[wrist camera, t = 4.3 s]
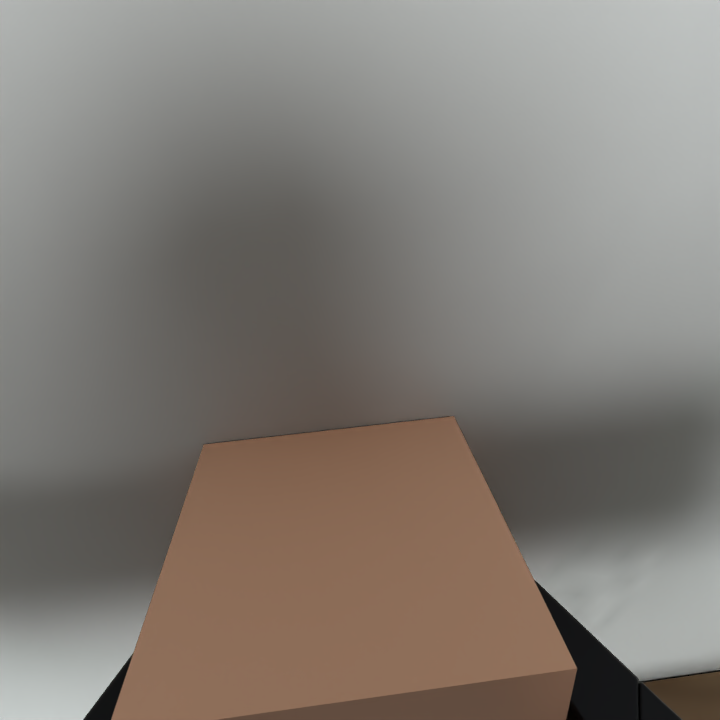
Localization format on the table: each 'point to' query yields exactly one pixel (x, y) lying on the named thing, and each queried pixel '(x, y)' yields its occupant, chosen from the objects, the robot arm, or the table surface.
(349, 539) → the terracotta block
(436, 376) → the table surface
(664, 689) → the arena
